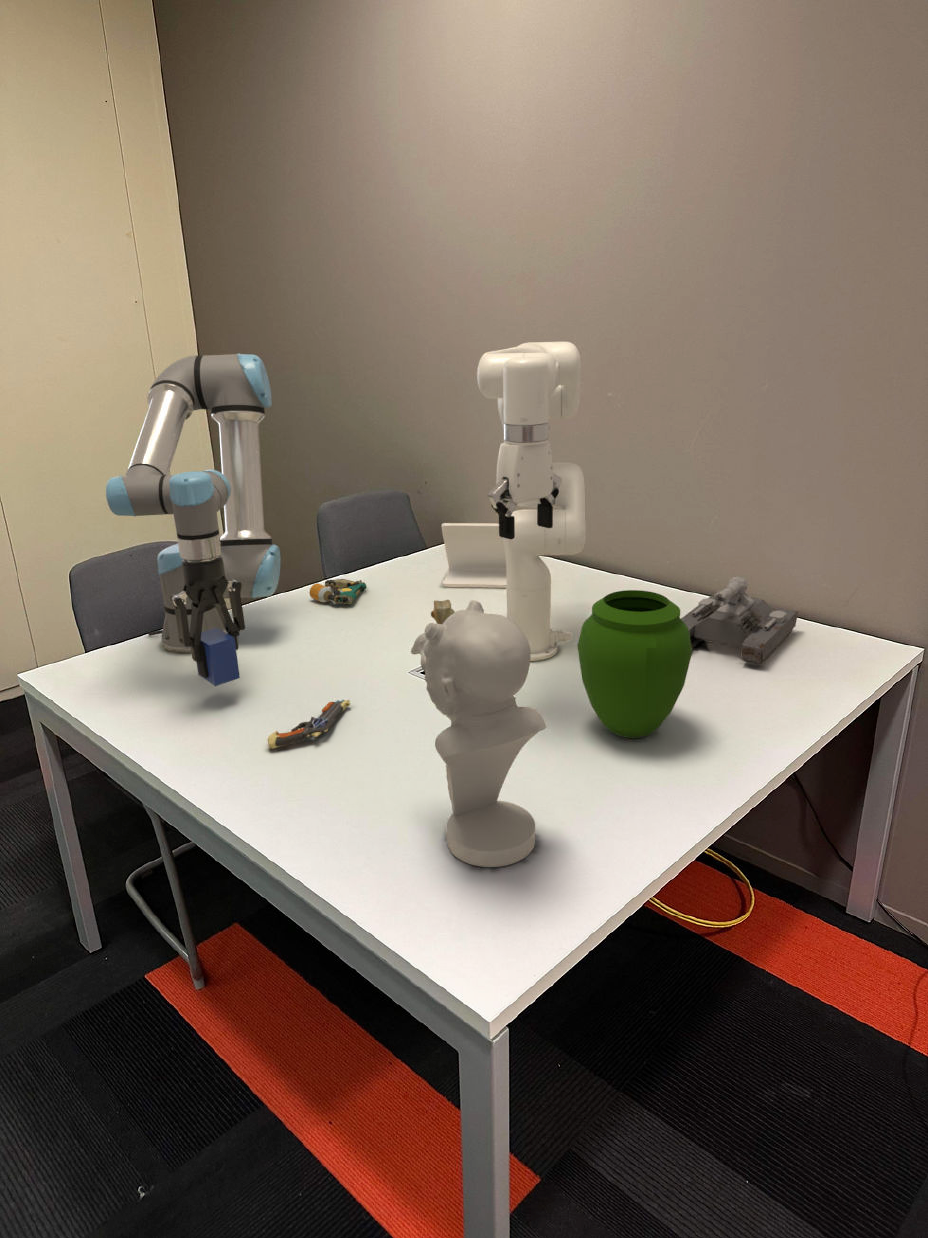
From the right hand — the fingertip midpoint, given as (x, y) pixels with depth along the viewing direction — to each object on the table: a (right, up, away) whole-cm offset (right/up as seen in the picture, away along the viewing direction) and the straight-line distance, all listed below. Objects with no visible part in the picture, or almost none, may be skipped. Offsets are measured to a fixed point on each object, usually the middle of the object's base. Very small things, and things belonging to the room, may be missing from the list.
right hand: (526, 532), depth 150 cm
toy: (+49, -20, +40) cm, 67 cm away
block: (-59, -27, +17) cm, 67 cm away
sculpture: (-15, -26, +30) cm, 42 cm away
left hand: (-59, -25, +17) cm, 66 cm away
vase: (+19, -35, +4) cm, 40 cm away
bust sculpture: (-10, -47, -25) cm, 54 cm away
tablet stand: (-3, -4, +88) cm, 88 cm away
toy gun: (-39, -35, +7) cm, 53 cm away
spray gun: (-43, -9, +76) cm, 88 cm away
